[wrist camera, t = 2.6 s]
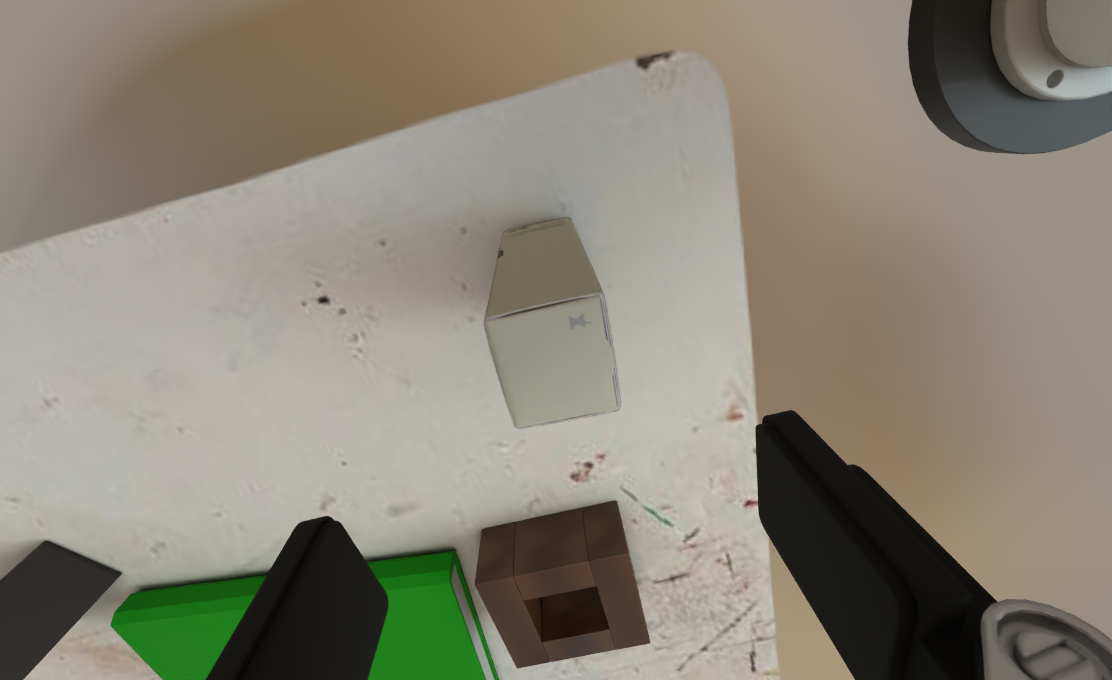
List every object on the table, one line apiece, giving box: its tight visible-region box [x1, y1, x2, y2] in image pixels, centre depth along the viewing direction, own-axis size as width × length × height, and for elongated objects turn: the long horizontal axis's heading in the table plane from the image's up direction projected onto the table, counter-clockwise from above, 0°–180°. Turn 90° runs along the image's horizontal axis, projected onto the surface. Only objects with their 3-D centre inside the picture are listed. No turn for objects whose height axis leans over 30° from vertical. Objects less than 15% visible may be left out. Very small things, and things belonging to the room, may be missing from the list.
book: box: [111, 550, 499, 680], centre depth 41 cm, size 22×28×3 cm
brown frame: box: [475, 501, 650, 668], centre depth 37 cm, size 12×12×5 cm
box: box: [484, 217, 621, 429], centre depth 21 cm, size 5×4×13 cm
